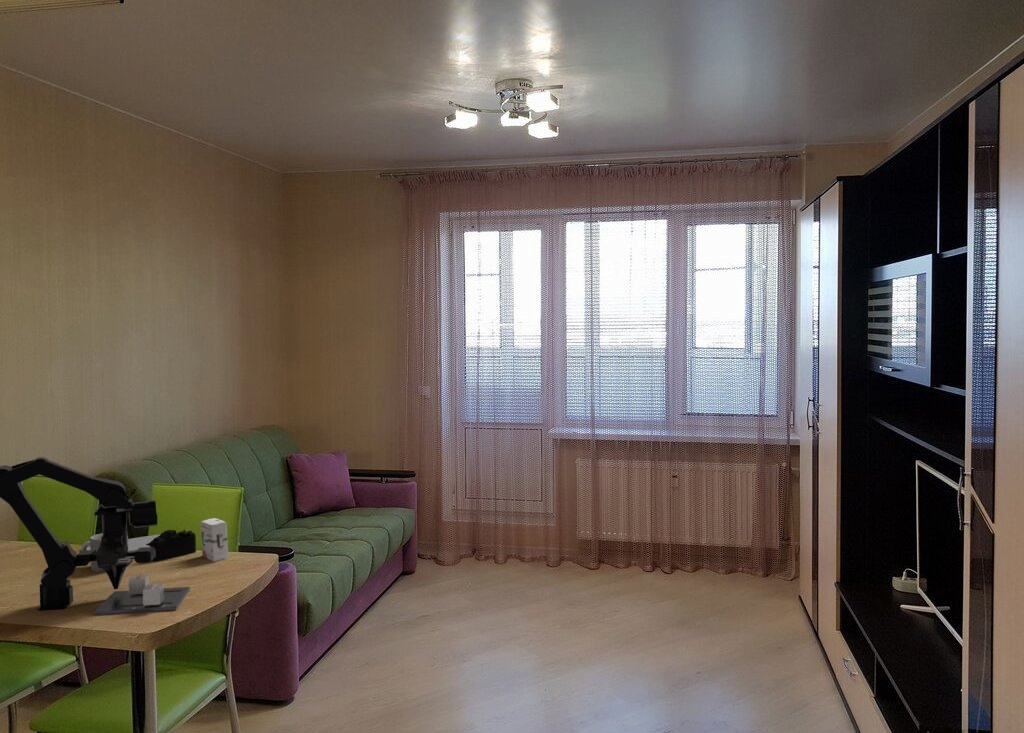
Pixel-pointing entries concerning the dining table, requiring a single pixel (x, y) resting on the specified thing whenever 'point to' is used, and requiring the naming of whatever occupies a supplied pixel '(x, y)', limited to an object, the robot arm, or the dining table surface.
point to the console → (141, 602)
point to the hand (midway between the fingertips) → (116, 588)
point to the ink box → (214, 539)
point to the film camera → (173, 544)
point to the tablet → (137, 543)
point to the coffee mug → (94, 545)
